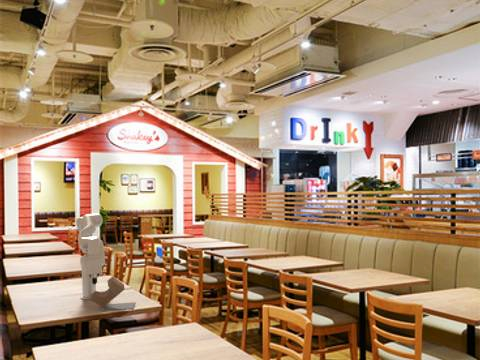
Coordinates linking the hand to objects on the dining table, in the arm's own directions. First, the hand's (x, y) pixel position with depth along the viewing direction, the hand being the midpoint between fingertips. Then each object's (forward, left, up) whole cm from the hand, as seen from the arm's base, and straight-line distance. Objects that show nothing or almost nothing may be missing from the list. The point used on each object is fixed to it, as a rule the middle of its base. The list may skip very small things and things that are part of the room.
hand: (94, 284), depth 313 cm
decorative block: (+1, +1, -12) cm, 12 cm away
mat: (+2, +16, -16) cm, 23 cm away
